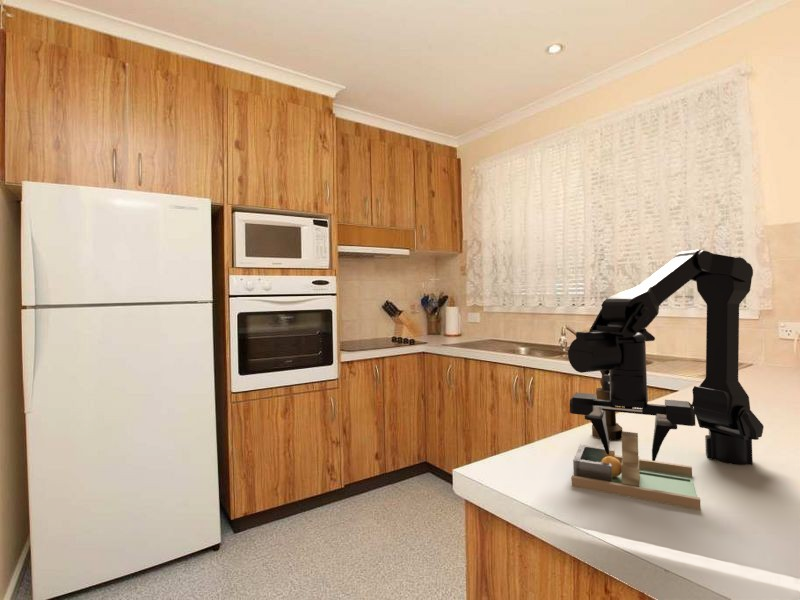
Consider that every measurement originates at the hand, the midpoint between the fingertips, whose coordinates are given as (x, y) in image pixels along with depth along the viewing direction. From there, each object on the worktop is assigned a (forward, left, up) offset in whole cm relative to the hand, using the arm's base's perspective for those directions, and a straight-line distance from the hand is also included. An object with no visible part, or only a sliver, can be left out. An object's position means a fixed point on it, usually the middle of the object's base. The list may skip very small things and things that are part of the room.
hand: (630, 456), depth 73 cm
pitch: (0, 0, -5) cm, 5 cm away
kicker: (0, 0, -4) cm, 4 cm away
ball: (+3, 0, -2) cm, 4 cm away
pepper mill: (+6, -26, -5) cm, 28 cm away
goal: (+6, 0, -4) cm, 7 cm away
